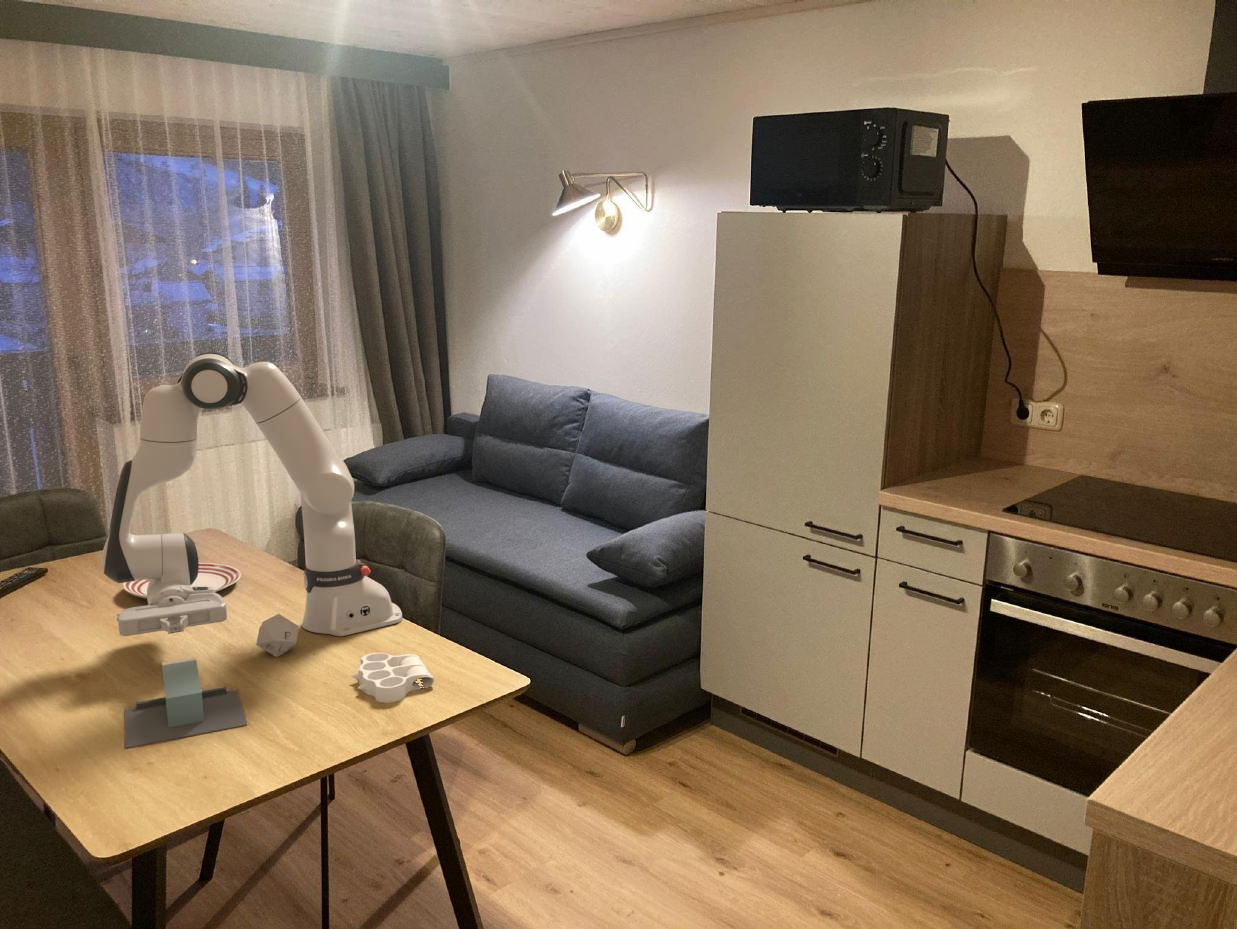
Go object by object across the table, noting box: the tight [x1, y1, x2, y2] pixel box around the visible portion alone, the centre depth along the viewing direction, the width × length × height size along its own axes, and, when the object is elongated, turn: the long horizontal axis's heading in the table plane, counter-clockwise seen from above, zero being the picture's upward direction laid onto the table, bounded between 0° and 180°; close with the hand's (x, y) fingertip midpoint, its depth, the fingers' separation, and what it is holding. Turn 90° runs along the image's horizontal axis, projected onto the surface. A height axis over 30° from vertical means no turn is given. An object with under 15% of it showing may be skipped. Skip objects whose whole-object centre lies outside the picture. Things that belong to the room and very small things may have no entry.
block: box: [161, 656, 204, 728], centre depth 185 cm, size 6×6×14 cm
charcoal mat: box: [124, 686, 248, 750], centre depth 183 cm, size 20×16×1 cm
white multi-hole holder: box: [351, 652, 435, 704], centre depth 199 cm, size 3×18×15 cm
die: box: [255, 613, 299, 658], centre depth 212 cm, size 8×9×10 cm
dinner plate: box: [122, 562, 242, 599], centre depth 250 cm, size 27×27×3 cm
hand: (175, 629), depth 196 cm, fingers closed
